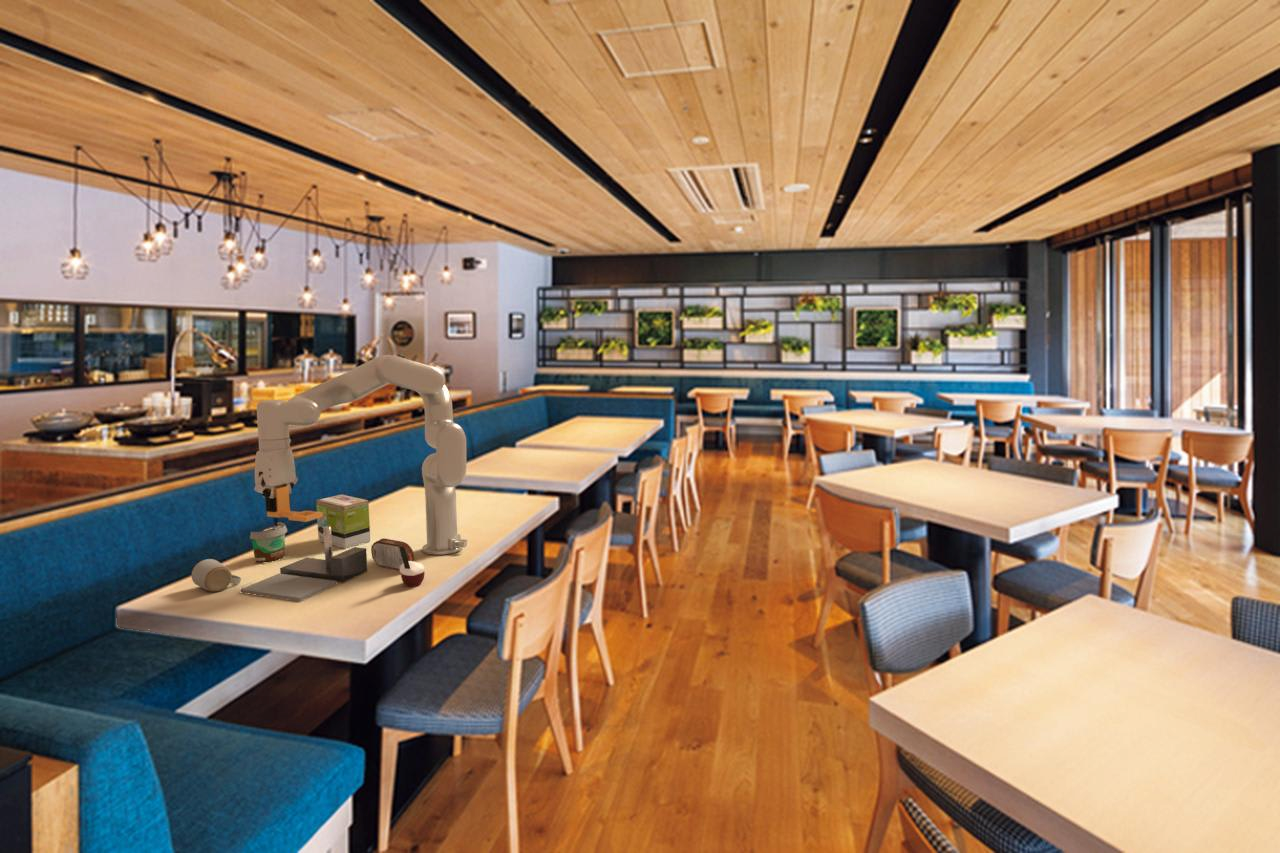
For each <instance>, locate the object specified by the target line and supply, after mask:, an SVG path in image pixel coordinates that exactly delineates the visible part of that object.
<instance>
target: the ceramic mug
mask: <svg viewBox="0 0 1280 853" xmlns="http://www.w3.org/2000/svg"><path fill="white" fill-rule="evenodd" d="M191 581H192V582H193V583H194V584H195V586H198V587H200V588H202V589H204V590H206V591H208V592H214V593H215V592H222V591H223V590H225V589H226V588H228V587H229V585H230V584H232V585H239V584H240V583H241V581H242V578H241V577H240V576H238V575H235V574H233V573H232V572H231V569H229V567H228V566H226V565H224V564H222V563H221V562H220V561H218V560H217V559H213V558H208V559H207V558H206V559H203V560H201V561H199V562H198V563H196V564H195V566H194V567H193V568H192V570H191Z"/></svg>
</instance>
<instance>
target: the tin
mask: <svg viewBox="0 0 1280 853" xmlns="http://www.w3.org/2000/svg"><path fill="white" fill-rule="evenodd" d="M370 547H371V558H372V561H373V562H374V563H375V564H376V565H377V566H379V567H381V568H385V567H386V568H387V569H391V570H396V571H400V566H401V565H402V564H403V560H402V556H401V553H400V549H399V547H404V548H405V551H406V554H407V558H408V561H414V562H415V552H414V550H413V548H412V547H411V546H410V545H409V544H408V543H407V542H405V541H400V540H395V539H389V538H380V539H379V540H376V541H375V542H373V543H372V545H371V546H370Z"/></svg>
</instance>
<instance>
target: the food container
mask: <svg viewBox="0 0 1280 853" xmlns="http://www.w3.org/2000/svg"><path fill="white" fill-rule="evenodd" d="M287 532H288V528H287V526H286V524H285V523H283V522H279V521H278V522H277V524H276V525H274V526H270V527H266V528H264V529H262V530H260V531H250V535H249V540H251V544H252V548H253V555H254V561H255V562H254V563H255V564H264V563H263V562H268V563H273V562H276V561H280V560H282V559H284V558H285V547H286V546H285V545H286V544H285V543H286V533H287ZM283 557H284V558H283ZM279 559H280V560H279ZM272 561H273V562H272Z"/></svg>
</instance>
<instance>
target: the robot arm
mask: <svg viewBox="0 0 1280 853" xmlns="http://www.w3.org/2000/svg"><path fill="white" fill-rule="evenodd" d="M388 385H394V386H396V387H399V388H404V389H408V390H412V391H414V392H416V393H417V394H418V395H419V396H420V397H421V399H422V401H423V407H424V438H425V442H426V444H427V445H428V446H430V447H431V448H432V449H435V452H434V453H431V454H429V455H428V456H427V457H425V459H424V461H423V462H422V465H421V474H422V475H421V476H422V480H423V481H422V482H423V486H424V494H425V495H424V497H425V499H424V500H425V523H426V524H425V525H426V527H425V528H426V543H425V544H424V545H422V549H421V551H422V552H423V553H424V554H427V555H433V556H440V555H441V556H442V555H449V554H453V553H457V552H459V551H461V550H462V549H463V548H466V547H467V545H468V539H463V538H461V534H459V533H458V521H457V520H458V514H457V513H458V512H457V492H456V487H458V486H460V484H462V482H463V481H464V480H465V478H466V474H467V436H466V432H465V431H464V429H463V427H462V426H460V425H459V424H458V423H456V422H454V413H453V402H452V400H453V399H452V396H451V393H450V391H449V389H448V387H447V385H446V378H445V374H444V373H443V371H441V370H440V369H439V368H438V367H436V366H433V365H430V364H427V363H426V364H425V363H422V362H419V361H414V360H412V359H408V358H404V357H401V356H398V355H394V354H393V355H391V354H384V355H380V356H379V355H378V356H376V357H374V358H372V359H370V360H367V361H366V362H364V363H362V364H360V365H359V366H356V367H354V368H352V369H350V370H348V371H346V372H344V373H342V374H340V375H337V376H335V377H333V378H331V379H329V380H327V381H324V382H322V383H318V384H317V385H315V386H313V387H311V388H308V389H306V390H304V391H302V392H300V393H299V394H298V393H297V394H295V395H294V396H292V397H291V398H289V399H288V400H287V401H285V400H283V399H263V400H260V401H258V402H257V404H256V418H257V420H256V422H257V435H258V436H257V437H258V450H257V451H256V454H255V458H254V459H255V462H254V484H255V486H254V487H253V489H254V491H255V492H257V493H259V494H260V495H261V496H262V497H263V498H264V499H265V511H266V513H267V512H276V511H277V506H276V498H274V492H275V487H276V486H289V502H290V503H291V494H292V492H293V491H292V490H293V488H294V486H295V485H296V484H297V482H298V481H299V478H298V477H297V475H296V465H295V463H296V462H295V459H294V458H295V457H294V454H293V450H292V448H291V445H290V444H291V442H292V439H291V438H290V426H301V427H302V426H303V427H304V426H305V427H306V426H311V425H314V424H315V423H316V422H317V421H318V420H319V419H320V416H321V412H323V411H325V410H327V409H330V408H334V407H335V406H338V405H344V404H349V403H354V402H356V401H358V400H361V399H363V398H364V397H366V396H368V395H370V394H372V393H374V392H375V391H377V390H380V389H382V388H384V387H386V386H388ZM268 489H270V492H269V491H268Z"/></svg>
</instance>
